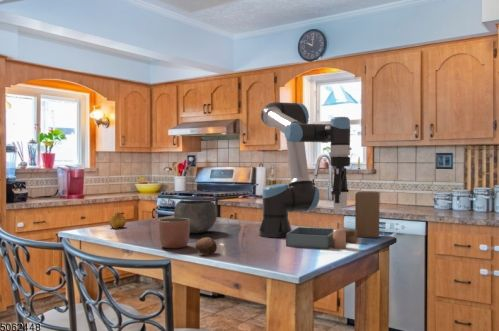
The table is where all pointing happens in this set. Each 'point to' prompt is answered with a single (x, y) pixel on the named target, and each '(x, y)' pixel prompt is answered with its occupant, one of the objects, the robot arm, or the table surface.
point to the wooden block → (367, 214)
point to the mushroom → (206, 246)
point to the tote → (310, 238)
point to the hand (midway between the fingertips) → (340, 209)
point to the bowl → (197, 214)
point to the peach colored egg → (339, 238)
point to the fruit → (117, 220)
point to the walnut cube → (351, 236)
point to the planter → (174, 232)
